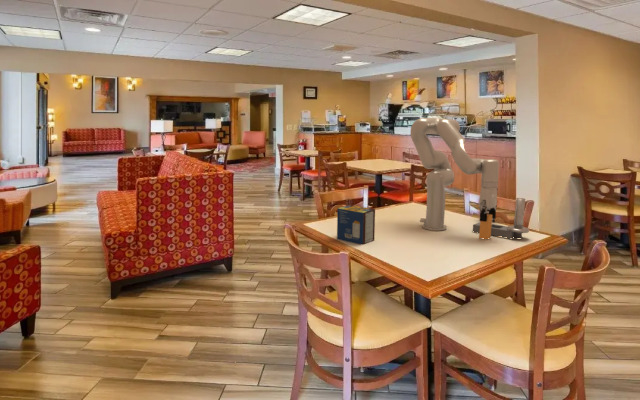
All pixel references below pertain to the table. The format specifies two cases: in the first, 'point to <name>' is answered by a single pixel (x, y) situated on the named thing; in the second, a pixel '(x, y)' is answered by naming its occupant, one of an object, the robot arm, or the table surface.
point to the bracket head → (496, 230)
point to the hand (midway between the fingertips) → (487, 219)
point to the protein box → (355, 224)
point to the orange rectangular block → (486, 227)
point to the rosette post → (518, 219)
